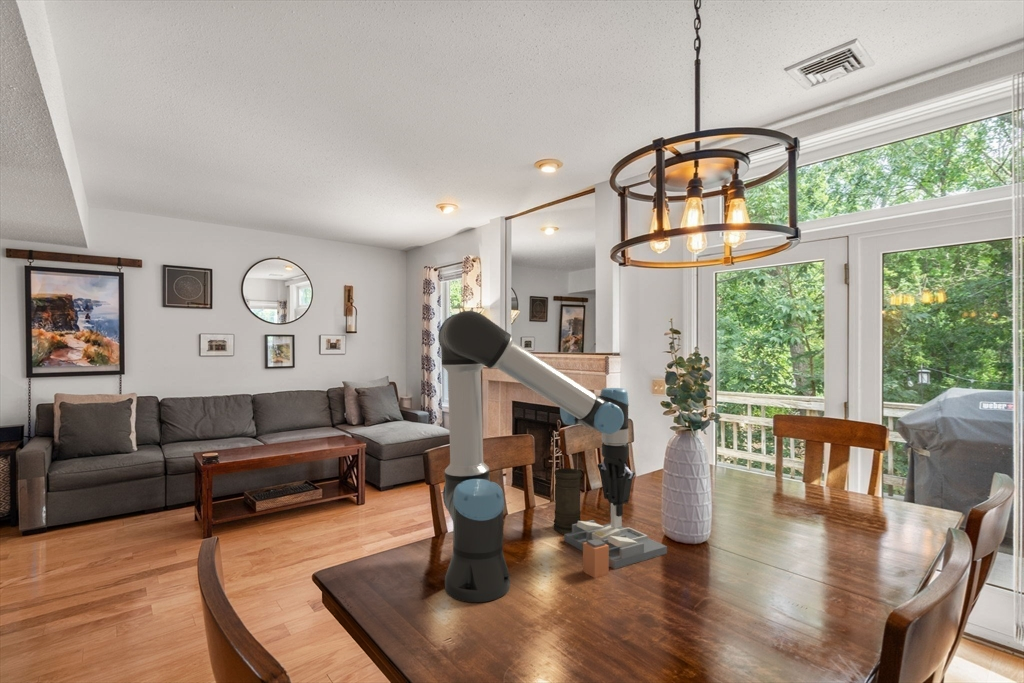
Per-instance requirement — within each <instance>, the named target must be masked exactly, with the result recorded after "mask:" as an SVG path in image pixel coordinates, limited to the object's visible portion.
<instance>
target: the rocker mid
mask: <svg viewBox="0 0 1024 683" xmlns="http://www.w3.org/2000/svg"><path fill="white" fill-rule="evenodd" d="M619 535H621V533H620V529H618V528H613V527H611V525H610V526H607V527H605V528H603V529H600V530H598V531H595V532H593V533H592V539H598V540H600V541H602V540H603V539H607V538H609V536H619Z"/></svg>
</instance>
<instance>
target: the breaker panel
mask: <svg viewBox="0 0 1024 683" xmlns="http://www.w3.org/2000/svg"><path fill="white" fill-rule="evenodd" d="M585 522H592V523H596V520H594V519H592V520H591V519H590V520H586V521H585ZM610 525H611V523H607V524H603V525H601V526H603V527H607V526H610ZM617 528H618V529H620V533H621V535H619V536H616V537H625V538H629V539H631V540H633V541H636V542H638V543H637V544H634V545H630V546H626V547H617V546H615V545H613V544H611V543H609V542H608V538H607V539H603V540H602V542H604V543H605V544H606V545H608V546H609V568H612V569H613V570H617V569H619V568H623V567H626V566H630V565H634V564H637V563H640V562H643V561H646V560H647V561H648V560H651V559H654V558H658V557H660V556H664V555H667V554H668V546H667V545H665V544H663V543H660V542H658V541H656V540H653V539H651V538H649V534H648V535H647V534H646V533H643V532H641V531H639V530H636V529H634V528H632V527H629V526H626V527H624V526H623V525H622V526H621V527H617ZM601 529H603V528H601ZM598 530H600V529H596V530H592V531H585V530H583V529H581V528H579V527H577V523H576V524H572V532H571V533H567V534H563V541H564V542H566V543H567V544H569V545H571V546H572V547H574V548H576V549H577V550H580V551H581V552H583V543H585V542H587V541H589V540H593V539H592V533H593V532H595V531H598Z"/></svg>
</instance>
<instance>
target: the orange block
mask: <svg viewBox="0 0 1024 683" xmlns="http://www.w3.org/2000/svg"><path fill="white" fill-rule="evenodd" d="M609 568H610V566H609V546H608V545H606V544H605V543H604V542H602V541H600V540H598V539H593V540H589V541H587V542H585V543H583V551H582V571H583V573H585V574H587V575H589V576H591V577H592V578H593V579H597V578H600V577H604V576H607V575H609V573H610V572H609V570H610V569H609Z"/></svg>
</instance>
